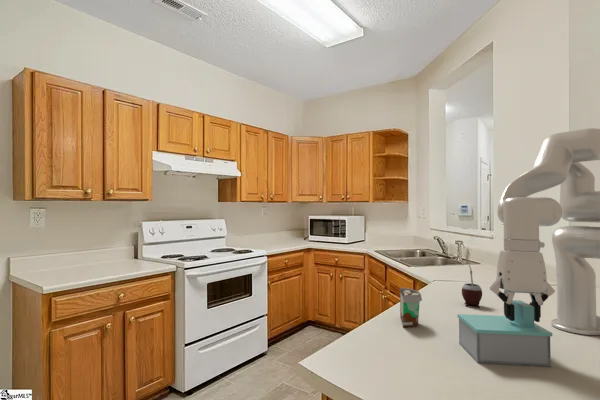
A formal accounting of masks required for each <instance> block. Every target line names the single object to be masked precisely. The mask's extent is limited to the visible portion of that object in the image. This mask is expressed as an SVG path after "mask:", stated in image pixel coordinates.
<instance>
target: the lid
mask: <svg viewBox="0 0 600 400" xmlns="http://www.w3.org/2000/svg"><path fill="white" fill-rule="evenodd" d="M512 304H513V305H514V311H515V320H514V321H511V320H509V319H507V318H506V317H505V315H493V314H492V315H489V314H487V315H486V314H466V313H465V314H464V313H462V314H461V313H457V318H458V320H459V319H460V320H462V321H463V322H464V323H465V324H466V325H468V326H469V327H470V328H471V329H472V330H474V331H475V332H476V333H486V334H508V335H530V336H550V337H553V332H552V331H550V330H547V328H544V327H542V326H540V325H538V324H537V323H535V321H534V307H533V306H531V305H529V303H527V302H525V301H522V300H520V299H519V300H517V299H516V300H514V299H513V301H512Z"/></svg>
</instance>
